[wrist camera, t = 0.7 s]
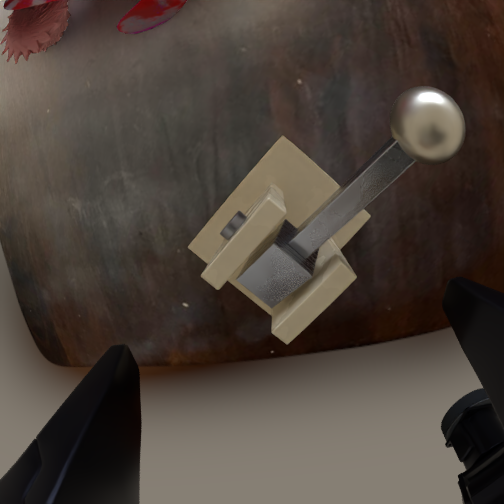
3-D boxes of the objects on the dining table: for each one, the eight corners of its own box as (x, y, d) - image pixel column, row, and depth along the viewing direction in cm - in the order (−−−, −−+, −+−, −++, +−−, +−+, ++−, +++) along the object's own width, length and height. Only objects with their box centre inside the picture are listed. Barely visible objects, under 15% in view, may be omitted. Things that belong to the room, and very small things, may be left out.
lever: (418, 70, 10) (435, 69, 8) (465, 124, 10) (491, 138, 8) (246, 245, 17) (226, 278, 15) (289, 281, 17) (276, 318, 15)
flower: (13, 55, 20) (-26, 46, 14) (58, -15, 17) (25, -35, 12) (55, 83, 20) (12, 73, 15) (108, 4, 18) (74, -22, 13)
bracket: (282, 136, 21) (285, 117, 12) (366, 213, 22) (423, 252, 13) (191, 243, 24) (139, 297, 14) (274, 310, 25) (270, 395, 15)
